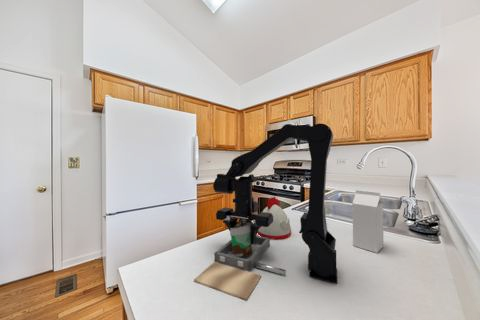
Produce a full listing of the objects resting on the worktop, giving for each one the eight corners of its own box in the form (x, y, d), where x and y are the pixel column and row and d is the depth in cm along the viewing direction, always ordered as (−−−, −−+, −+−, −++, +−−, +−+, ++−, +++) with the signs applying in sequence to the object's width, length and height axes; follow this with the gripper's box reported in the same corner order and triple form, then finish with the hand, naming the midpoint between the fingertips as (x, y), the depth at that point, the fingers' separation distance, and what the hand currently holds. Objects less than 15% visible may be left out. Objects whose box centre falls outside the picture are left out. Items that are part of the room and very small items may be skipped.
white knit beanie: (250, 232, 78) (249, 197, 78) (270, 224, 87) (270, 192, 87) (277, 243, 68) (276, 202, 68) (297, 232, 77) (297, 196, 77)
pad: (261, 277, 49) (261, 275, 49) (246, 300, 41) (246, 298, 41) (214, 263, 56) (214, 262, 56) (193, 281, 48) (193, 279, 48)
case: (269, 245, 66) (269, 238, 66) (250, 272, 51) (249, 263, 51) (240, 239, 72) (239, 232, 72) (213, 261, 56) (213, 253, 56)
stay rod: (286, 273, 50) (285, 268, 50) (284, 276, 49) (284, 271, 49) (251, 264, 55) (251, 259, 54) (250, 267, 53) (249, 262, 53)
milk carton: (377, 253, 59) (376, 194, 59) (352, 245, 65) (352, 191, 65) (383, 246, 64) (383, 191, 64) (360, 239, 69) (359, 189, 69)
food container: (251, 263, 55) (249, 229, 55) (231, 261, 56) (229, 228, 56) (258, 244, 67) (256, 216, 67) (241, 243, 68) (239, 216, 68)
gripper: (277, 192, 64) (278, 237, 64) (230, 189, 73) (231, 229, 73) (267, 199, 54) (268, 252, 54) (214, 194, 63) (215, 240, 63)
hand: (244, 242), depth 61 cm, fingers closed on food container, 6 cm apart
